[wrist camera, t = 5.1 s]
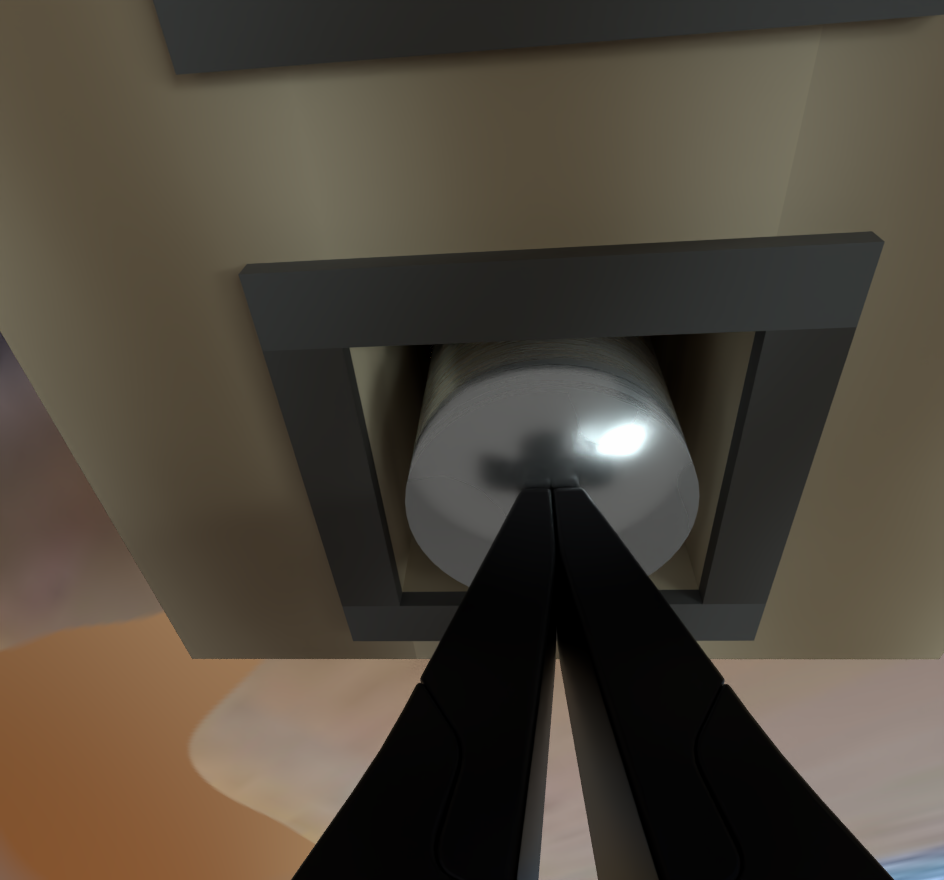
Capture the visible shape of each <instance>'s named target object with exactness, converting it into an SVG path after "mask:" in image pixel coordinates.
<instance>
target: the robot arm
mask: <svg viewBox="0 0 944 880" xmlns="http://www.w3.org/2000/svg"><path fill="white" fill-rule="evenodd" d="M556 632H557V644H558V652H559V659H560V666H561V671H562V677H563V683H564V688H565V694H566V700H567V705H568V711H569V717H570V723H571V728H572V734H573V740H574V745H575V751H576V757H577V762H578V768H579V774H580V779H581V785H582V791H583V796H584V802H585V808H586V814H587V819H588V825H589V831H590V836H591V842H592V848H593V853H594V859H595V865H596V870H597V876H598V880H894V879H893V878H892V877H891V876H890V875H889V874H888V872H887V871H886V870H885V869H884V868H883V867H882V866H881V865H880V864H879V863H878V861H877V860H876V859H875V858H874V857H873V856H872V855H871V854H870V853H869V851H868V850H867V849H866V848H865V847H864V846H863V845H862V844H861V843H860V842H859V840H858V839H857V838H856V837H855V836H854V835H853V834H852V833H851V832H850V831H849V829H848V828H847V827H846V826H845V825H844V824H843V823H842V822H841V821H840V819H839V818H838V817H837V816H836V815H835V814H834V813H833V812H832V811H831V810H830V808H829V807H828V806H827V805H826V804H825V803H824V802H823V801H822V800H821V798H820V797H819V796H818V795H817V794H816V793H815V792H814V790H813V789H812V788H811V787H810V786H809V785H808V783H807V782H806V781H805V780H804V779H803V778H802V777H801V775H800V774H799V773H798V772H797V771H796V770H795V769H794V767H793V766H792V765H791V764H790V763H789V762H788V760H787V759H786V758H785V757H784V756H783V755H782V753H781V752H780V751H779V750H778V748H777V747H776V746H775V745H774V743H773V742H772V741H771V739H770V738H769V737H768V736H767V734H766V733H765V732H764V731H763V729H762V728H761V727H760V725H759V724H758V723H757V722H756V720H755V719H754V718H753V716H752V715H751V714H750V713H749V711H748V710H747V709H746V707H745V706H744V704H743V703H742V702H741V700H740V699H739V698H738V696H737V695H736V694H735V692H734V691H733V690H732V688H731V687H730V686H729V685H728V684H724V678H723V676H722V675H721V674H720V672H719V671H718V670H717V668H716V667H715V666H714V664H713V663H712V662H711V660H710V659H709V658H708V656H707V655H706V653H705V652H704V651H703V649H702V648H701V647H700V645H699V644H698V643H697V641H696V640H695V639H694V637H693V636H692V635H691V633H690V632H689V630H688V629H687V628H686V626H685V625H684V624H683V622H682V621H681V620H680V618H679V617H678V616H677V614H676V613H675V612H674V610H673V609H672V607H671V606H670V605H669V603H668V602H667V601H666V599H665V598H664V597H663V595H662V594H661V593H660V591H659V590H658V589H657V587H656V586H655V584H654V583H653V582H652V580H651V579H650V578H649V576H648V575H647V574H646V572H645V571H644V570H643V568H642V567H641V566H640V564H639V563H638V561H637V560H636V559H635V557H634V556H633V555H632V553H631V552H630V551H629V549H628V548H627V547H626V545H625V544H624V543H623V541H622V540H621V538H620V537H619V536H618V534H617V533H616V532H615V530H614V529H613V528H612V526H611V525H610V524H609V522H608V521H607V520H606V518H605V517H604V515H603V514H602V513H601V511H600V510H599V509H598V507H597V506H596V505H595V503H594V502H593V501H592V499H591V498H590V497H589V495H588V494H587V493H586V491H585V490H584V489H582V488H556V489H554V490H553V492H551V490H550V489H548V488H532V489H523V490H521V491H520V493H519V494H518V496H517V498H516V500H515V502H514V504H513V505H512V507H511V509H510V511H509V513H508V515H507V517H506V519H505V520H504V522H503V524H502V526H501V528H500V530H499V532H498V534H497V535H496V537H495V539H494V541H493V543H492V545H491V547H490V549H489V550H488V552H487V554H486V556H485V558H484V560H483V562H482V564H481V565H480V567H479V569H478V571H477V573H476V575H475V577H474V579H473V580H472V582H471V584H470V586H469V588H468V590H467V592H466V594H465V595H464V597H463V599H462V601H461V603H460V605H459V607H458V609H457V610H456V612H455V614H454V616H453V618H452V620H451V622H450V624H449V625H448V627H447V629H446V631H445V633H444V635H443V637H442V639H441V640H440V642H439V644H438V646H437V648H436V650H435V652H434V654H433V655H432V657H431V659H430V661H429V663H428V665H427V667H426V669H425V670H424V672H423V674H422V676H421V678H420V681H421V683H418V684H417V685H416V687H415V689H414V690H413V692H412V694H411V696H410V698H409V700H408V702H407V704H406V705H405V707H404V709H403V711H402V713H401V714H400V716H399V718H398V720H397V721H396V723H395V725H394V727H393V728H392V730H391V732H390V734H389V735H388V737H387V739H386V741H385V742H384V744H383V746H382V747H381V749H380V751H379V752H378V754H377V755H376V757H375V758H374V760H373V761H372V763H371V764H370V766H369V767H368V769H367V771H366V772H365V774H364V775H363V777H362V778H361V780H360V781H359V783H358V784H357V786H356V787H355V789H354V790H353V792H352V793H351V795H350V796H349V798H348V799H347V800H346V802H345V803H344V805H343V806H342V808H341V809H340V810H339V812H338V813H337V815H336V816H335V818H334V819H333V820H332V822H331V823H330V825H329V826H328V828H327V829H326V831H325V832H324V833H323V835H322V836H321V838H320V839H319V841H318V842H317V843H316V845H315V846H314V848H313V849H312V851H311V852H310V853H309V855H308V856H307V858H306V859H305V861H304V862H303V864H302V865H301V866H300V868H299V869H298V871H297V872H296V873H295V875H294V876H293V878H292V879H291V880H538V878H539V865H540V852H541V840H542V827H543V814H544V802H545V789H546V777H547V764H548V751H549V739H550V726H551V714H552V701H553V688H554V676H555V662H556Z"/></svg>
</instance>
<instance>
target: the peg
mask: <svg viewBox="0 0 944 880" xmlns="http://www.w3.org/2000/svg"><path fill="white" fill-rule="evenodd" d="M532 488H548V489H550V490H551V492H553V490H554V489H556V488H582V489H584V490H585V491H586V493H587V494H588V495H589V497H590V498H591V499H592V501H593V502H594V503H595V505H596V506H597V507H598V509H599V510H600V511H601V513H602V514H603V515H604V517H605V518H606V520H607V521H608V522H609V524H610V525H611V526H612V528H613V529H614V530H615V532H616V533H617V534H618V536H619V537H620V538H621V540H622V541H623V543H624V544H625V545H626V547H627V548H628V549H629V551H630V552H631V553H632V555H633V556H634V557H635V559H636V560H637V561H638V563H639V564H640V566H641V567H642V568H643V570H644V571H645V572H646V574H647V575H648V576H649V575H651V574H652V573H654V572H655V571H657V570H658V569H659V568H660V567H662V566H663V565H664V564H665V563H666V562H667V561H669V560H670V559H671V558H672V556H673V555H674V554H675V553H676V552H677V551H678V550H679V549H680V547H681V546H682V544H683V543H684V541H685V540H686V539H687V537H688V535H689V533H690V531H691V529H692V527H693V525H694V522H695V519H696V515H697V512H698V506H699V496H700V495H699V483H698V478H697V475H696V471H695V467H694V464H693V462H692V459H691V456H690V453H689V450H688V447H687V444H686V441H685V438H684V435H683V432H682V430H681V427H680V424H679V421H678V418H677V415H676V412H675V409H674V406H673V403H672V400H671V398H670V395H669V392H668V389H667V386H666V383H665V380H664V377H663V374H662V371H661V368H660V366H659V363H658V360H657V357H656V354H655V351H654V348H653V345H652V342H651V339H650V336H626V337H601V338H576V339H551V340H527V341H502V342H477V343H452V344H434V345H433V350H432V356H431V361H430V366H429V371H428V376H427V382H426V387H425V392H424V397H423V402H422V408H421V413H420V418H419V423H418V428H417V434H416V439H415V444H414V449H413V455H412V460H411V465H410V470H409V475H408V481H407V486H406V496H405V507H406V516H407V519H408V523H409V526H410V529H411V531H412V533H413V536H414V538H415V540H416V542H417V543H418V545H419V546H420V548H421V549H422V550H423V552H424V553H425V554H426V555H427V556H428V558H429V559H430V560H431V561H432V562H433V563H434V564H435V565H436V566H438V567H439V568H440V569H441V570H442V571H443V572H445V573H446V574H448V575H449V576H451V577H452V578H454V579H455V580H457V581H459V582H460V583H462V584H464V585H466V586H468V587H469V586H470V584H471V582H472V580H473V579H474V577H475V575H476V573H477V571H478V569H479V567H480V565H481V564H482V562H483V560H484V558H485V556H486V554H487V552H488V550H489V549H490V547H491V545H492V543H493V541H494V539H495V537H496V535H497V534H498V532H499V530H500V528H501V526H502V524H503V522H504V520H505V519H506V517H507V515H508V513H509V511H510V509H511V507H512V505H513V504H514V502H515V500H516V498H517V496H518V494H519V493H520V491H521V490H523V489H532Z"/></svg>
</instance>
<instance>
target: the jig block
mask: <svg viewBox="0 0 944 880" xmlns="http://www.w3.org/2000/svg"><path fill="white" fill-rule="evenodd" d="M0 332H1V333H2V335H3V337H4V338H5V340H6V342H7V344H8V345H9V347H10V349H11V350H12V352H13V354H14V356H15V357H16V359H17V361H18V362H19V364H20V366H21V367H22V369H23V371H24V373H25V374H26V376H27V378H28V379H29V381H30V383H31V385H32V386H33V388H34V390H35V391H36V393H37V395H38V396H39V398H40V400H41V402H42V403H43V405H44V407H45V408H46V410H47V412H48V414H49V415H50V417H51V419H52V420H53V422H54V424H55V425H56V427H57V429H58V431H59V432H60V434H61V436H62V437H63V439H64V441H65V443H66V444H67V446H68V448H69V449H70V451H71V453H72V454H73V456H74V458H75V460H76V461H77V463H78V465H79V466H80V468H81V470H82V472H83V473H84V475H85V477H86V478H87V480H88V482H89V484H90V485H91V487H92V489H93V490H94V492H95V494H96V495H97V497H98V499H99V501H100V502H101V504H102V506H103V507H104V509H105V511H106V513H107V514H108V516H109V518H110V519H111V521H112V523H113V524H114V526H115V528H116V530H117V531H118V533H119V535H120V536H121V538H122V540H123V542H124V543H125V545H126V547H127V548H128V550H129V552H130V553H131V555H132V557H133V559H134V560H135V562H136V564H137V565H138V567H139V569H140V571H141V572H142V574H143V576H144V577H145V579H146V581H147V582H148V584H149V586H150V588H151V589H152V591H153V593H154V594H155V596H156V598H157V600H158V601H159V603H160V605H161V606H162V608H163V610H164V612H165V613H166V615H167V617H168V618H169V620H170V622H171V623H172V625H173V627H174V629H175V630H176V632H177V634H178V635H179V637H180V639H181V640H182V642H183V644H184V646H185V647H186V649H187V651H188V652H189V654H190V656H191V658H192V659H217V658H218V659H431V657H432V655H433V654H434V652H435V650H436V648H437V646H438V644H439V642H440V640H441V639H442V637H443V635H444V633H445V631H446V629H447V627H448V625H449V624H450V622H451V620H452V618H453V616H454V614H455V612H456V610H457V609H458V607H459V605H460V603H461V601H462V599H463V597H464V595H465V594H466V592H467V590H468V588H469V587H468V586H466V585H464V584H462V583H460V582H459V581H457V580H455V579H454V578H452V577H451V576H449V575H448V574H446V573H445V572H443V571H442V570H441V569H440V568H439V567H438V566H436V565H435V564H434V563H433V562H432V561H431V560H430V559H429V558H428V556H427V555H426V554H425V553H424V552H423V550H422V549H421V548H420V546H419V545H418V543H417V542H416V540H415V538H414V536H413V533H412V531H411V529H410V526H409V523H408V519H407V516H406V507H405V496H406V486H407V481H408V475H409V470H410V465H411V460H412V455H413V449H414V444H415V439H416V434H417V428H418V423H419V418H420V413H421V408H422V402H423V397H424V392H425V387H426V382H427V376H428V371H429V366H430V355H429V347H428V344H452V343H477V342H502V341H527V340H551V339H576V338H601V337H626V336H650V339H651V342H652V345H653V348H654V351H655V354H656V357H657V360H658V363H659V366H660V368H661V371H662V374H663V377H664V380H665V383H666V386H667V389H668V392H669V395H670V398H671V400H672V403H673V406H674V409H675V412H676V415H677V418H678V421H679V424H680V427H681V430H682V432H683V435H684V438H685V441H686V444H687V447H688V450H689V453H690V456H691V459H692V462H693V464H694V467H695V471H696V475H697V478H698V483H699V495H700V496H699V506H698V512H697V515H696V519H695V522H694V525H693V527H692V529H691V531H690V533H689V535H688V537H687V539H686V540H685V541H684V543H683V544H682V546H681V547H680V549H679V550H678V551H677V552H676V553H675V554H674V555H673V556H672V558H671V559H670V560H669V561H667V562H666V563H665V564H664V565H663V566H662V567H660V568H659V569H658V570H657V571H655V572H654V573H652V574H651V575H649V578H650V579H651V580H652V582H653V583H654V584H655V586H656V587H657V589H658V590H659V591H660V593H661V594H662V595H663V597H664V598H665V599H666V601H667V602H668V603H669V605H670V606H671V607H672V609H673V610H674V612H675V613H676V614H677V616H678V617H679V618H680V620H681V621H682V622H683V624H684V625H685V626H686V628H687V629H688V630H689V632H690V633H691V635H692V636H693V637H694V639H695V640H696V641H697V643H698V644H699V645H700V647H701V648H702V649H703V651H704V652H705V653H706V655H707V656H708V658H709V659H940V657H941V656H942V654H943V653H944V0H0ZM556 659H559V652H558V644H557V632H556Z"/></svg>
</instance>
